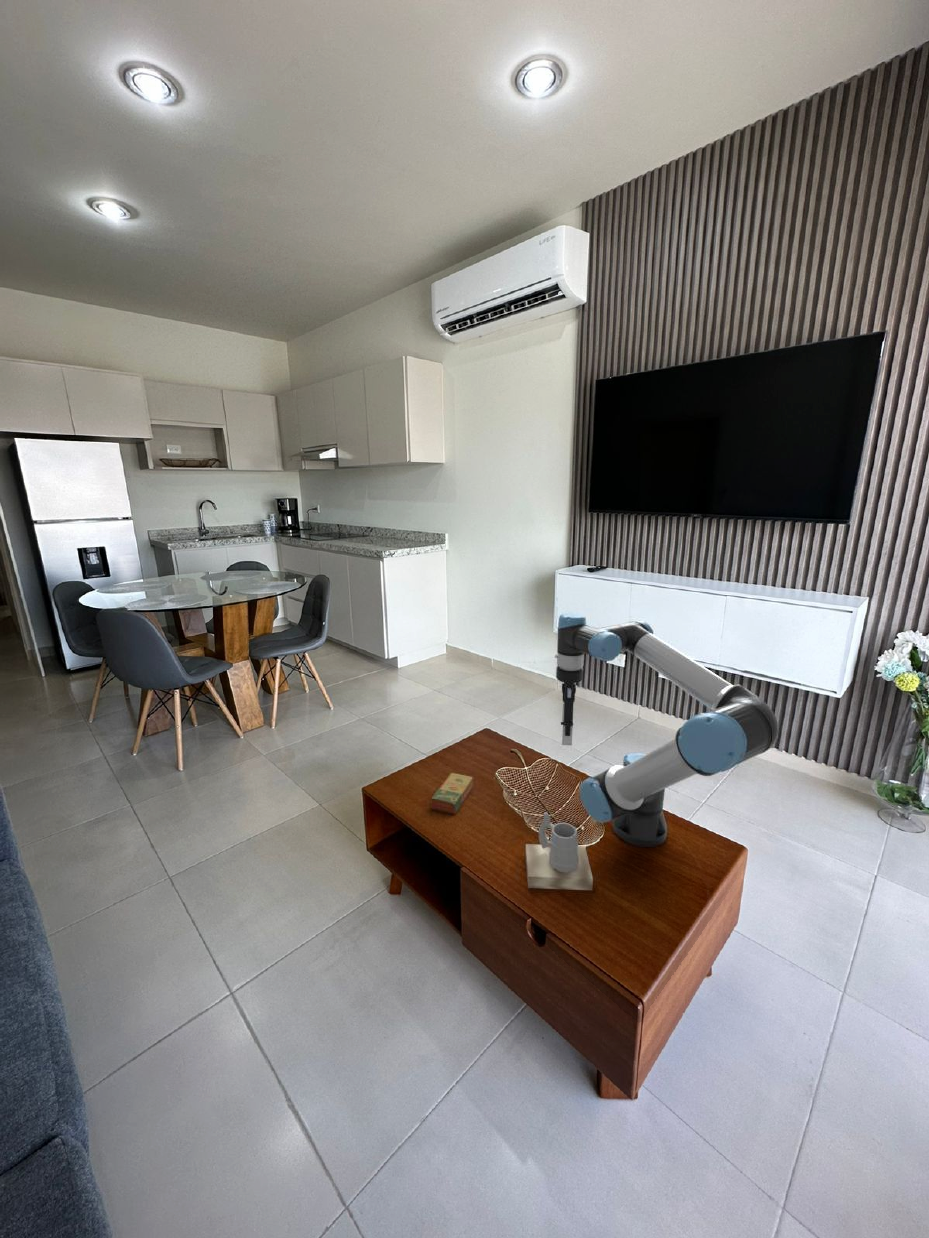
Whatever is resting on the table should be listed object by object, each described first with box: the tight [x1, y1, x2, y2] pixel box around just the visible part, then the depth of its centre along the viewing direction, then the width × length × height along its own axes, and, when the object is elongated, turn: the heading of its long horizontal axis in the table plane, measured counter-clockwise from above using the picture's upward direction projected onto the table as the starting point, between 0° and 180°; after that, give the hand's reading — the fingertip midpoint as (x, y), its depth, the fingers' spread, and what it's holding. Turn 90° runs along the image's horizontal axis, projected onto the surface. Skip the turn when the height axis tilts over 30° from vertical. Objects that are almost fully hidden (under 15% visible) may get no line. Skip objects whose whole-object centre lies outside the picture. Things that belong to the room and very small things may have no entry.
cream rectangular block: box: [525, 843, 594, 891], centre depth 134 cm, size 16×12×4 cm
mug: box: [538, 811, 579, 873], centre depth 132 cm, size 8×12×12 cm, turn 44°
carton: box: [430, 772, 474, 815], centre depth 166 cm, size 8×16×4 cm, turn 158°
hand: (566, 733), depth 152 cm, fingers open, 13 cm apart
